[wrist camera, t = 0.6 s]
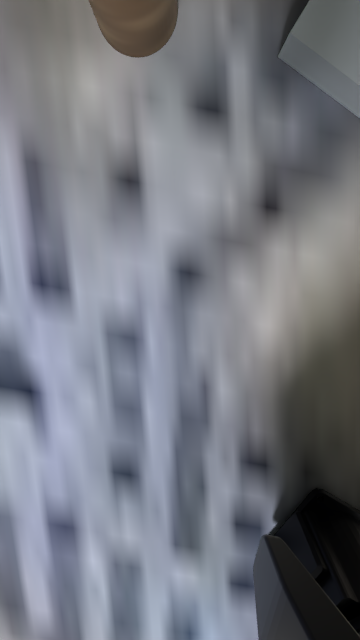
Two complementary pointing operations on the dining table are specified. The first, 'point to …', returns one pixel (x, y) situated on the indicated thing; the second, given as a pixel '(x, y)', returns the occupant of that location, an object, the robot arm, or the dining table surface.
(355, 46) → the hole plate
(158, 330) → the dining table surface
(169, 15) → the tall pin
